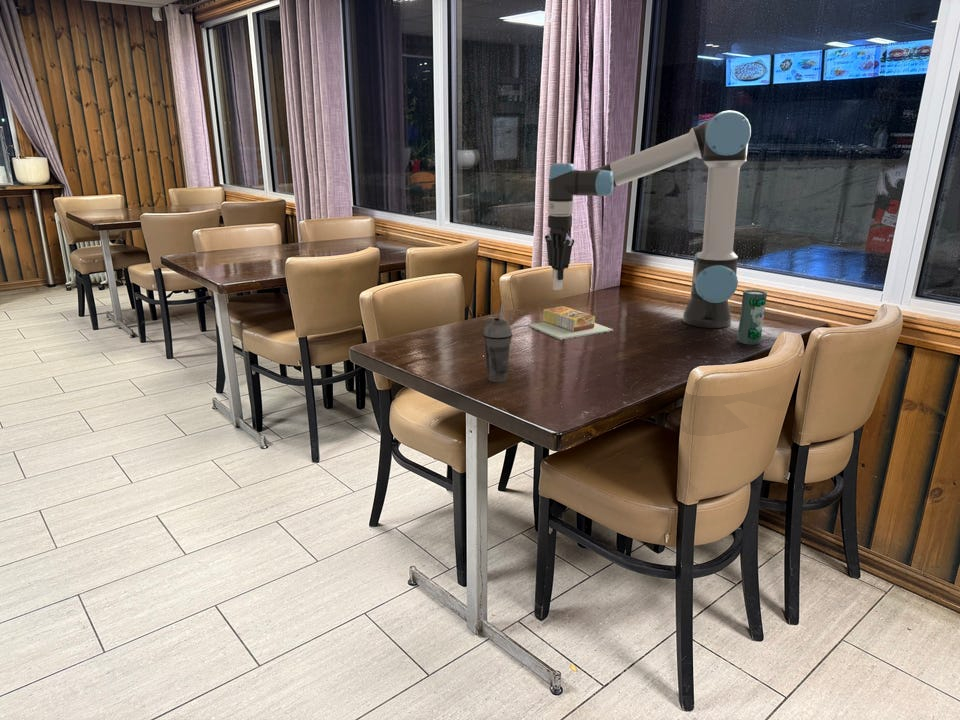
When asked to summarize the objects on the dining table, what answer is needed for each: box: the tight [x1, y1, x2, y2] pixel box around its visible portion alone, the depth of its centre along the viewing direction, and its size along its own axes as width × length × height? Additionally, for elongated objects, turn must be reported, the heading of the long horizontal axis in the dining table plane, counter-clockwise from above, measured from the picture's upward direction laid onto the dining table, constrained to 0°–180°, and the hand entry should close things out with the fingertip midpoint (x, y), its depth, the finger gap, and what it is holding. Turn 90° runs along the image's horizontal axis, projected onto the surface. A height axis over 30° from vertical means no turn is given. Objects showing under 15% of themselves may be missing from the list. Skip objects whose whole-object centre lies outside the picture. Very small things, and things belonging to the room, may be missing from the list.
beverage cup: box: [482, 300, 513, 383], centre depth 164 cm, size 7×7×20 cm
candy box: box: [542, 305, 596, 332], centre depth 213 cm, size 9×4×15 cm
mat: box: [527, 321, 614, 341], centre depth 211 cm, size 18×20×1 cm
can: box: [736, 289, 768, 345], centre depth 195 cm, size 6×6×15 cm
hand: (557, 289), depth 214 cm, fingers closed
